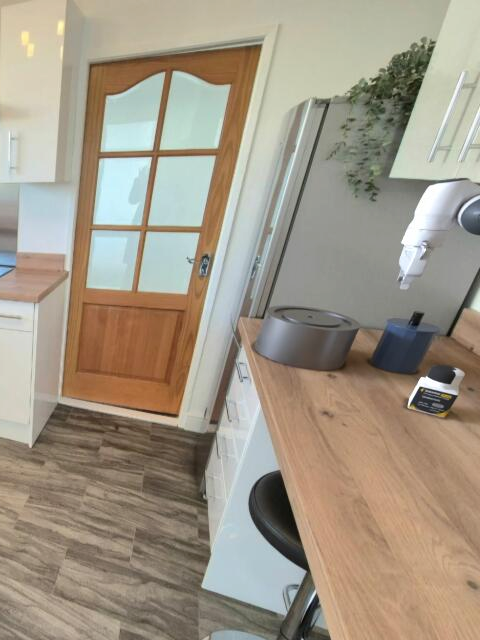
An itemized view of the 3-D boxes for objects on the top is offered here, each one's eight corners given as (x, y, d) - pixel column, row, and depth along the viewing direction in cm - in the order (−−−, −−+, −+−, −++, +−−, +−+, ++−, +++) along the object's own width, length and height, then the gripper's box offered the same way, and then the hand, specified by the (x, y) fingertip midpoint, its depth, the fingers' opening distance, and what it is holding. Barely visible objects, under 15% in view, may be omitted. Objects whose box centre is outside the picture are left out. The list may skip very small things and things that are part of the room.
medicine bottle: (407, 408, 114) (429, 367, 109) (408, 399, 119) (430, 359, 113) (444, 418, 110) (469, 376, 104) (445, 408, 114) (469, 368, 109)
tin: (405, 362, 141) (425, 323, 134) (423, 376, 131) (446, 335, 125) (363, 356, 144) (381, 318, 138) (378, 370, 135) (398, 330, 129)
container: (361, 373, 133) (380, 333, 127) (273, 366, 137) (287, 327, 131) (317, 343, 155) (332, 307, 149) (243, 338, 159) (254, 303, 153)
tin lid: (426, 324, 135) (434, 308, 133) (448, 337, 125) (457, 320, 122) (378, 319, 139) (385, 304, 136) (396, 332, 129) (404, 315, 126)
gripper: (444, 245, 116) (420, 294, 123) (433, 235, 131) (411, 280, 137) (413, 242, 120) (390, 291, 126) (405, 234, 134) (385, 277, 141)
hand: (401, 285), depth 132 cm, fingers open, 8 cm apart
